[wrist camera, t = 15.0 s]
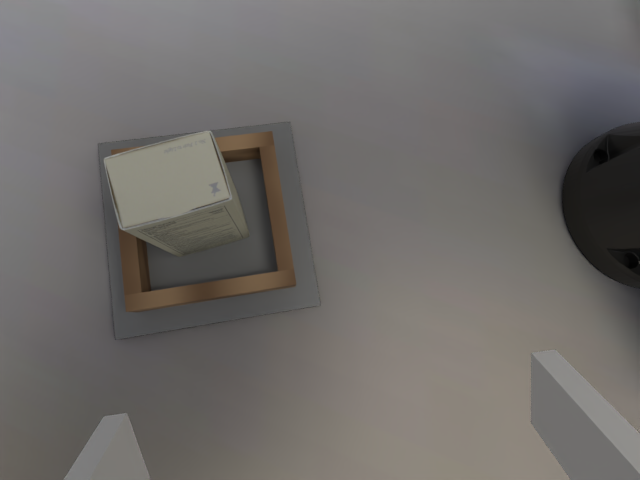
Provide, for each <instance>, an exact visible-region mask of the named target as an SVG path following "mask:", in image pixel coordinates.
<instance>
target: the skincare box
mask: <svg viewBox="0 0 640 480" xmlns="http://www.w3.org/2000/svg"><path fill="white" fill-rule="evenodd" d="M104 165H105V169H106V174H107V179H108V183H109V188H110V192H111V196H112V200H113V205H114V209H115V213H116V216H117V220H118V224H119V228H120V229H121V230H123V231H125V232H127V233H130V234H132V235H134V236H136V237H138V238H140V239H142V240H144V241H146V242H148V243H150V244H152V245H154V246H157V247H159V248H161V249H163V250H165V251H167V252H169V253H171V254H173V255H175V256H178V257H181V256H185V255H188V254H192V253H196V252H200V251H203V250H207V249H210V248H214V247H217V246H221V245H224V244H228V243H231V242H234V241H237V240H241V239H244V238H247V237H249V231H248V227H247V223H246V220H245V216H244V213H243V209H242V206H241V203H240V200H239V197H238V194H237V191H236V188H235V186H234V183H233V181H232V178H231V176H230V173H229V171H228V169H227V166H226V164H225V161H224V159H223V156H222V154H221V152H220V149H219V147H218V144H217V142H216V140H215V138H214V135H213V133H212V132H211V131H204V132H199V133H195V134H190V135H186V136H182V137H178V138H174V139H170V140H166V141H162V142H159V143H155V144H151V145H147V146H144V147H140V148H136V149H133V150H129V151H126V152H122V153H118V154H115V155H112V156H108V157H105V158H104Z"/></svg>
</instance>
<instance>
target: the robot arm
mask: <svg viewBox="0 0 640 480" xmlns="http://www.w3.org/2000/svg"><path fill="white" fill-rule="evenodd" d="M563 208H564V214H565V218H566V222H567V225H568V228H569V230H570V233H571V235H572V237H573V239H574V241H575V242H576V244H577V246H578V247H579V249H580V250H581V251H582V253H583V254H584V255H585V256H586V258H587V259H588V260H589V261H590V262H591V263H592V264H593V265H594V266H595V267H596V268H598V269H599V270H600V271H601V272H603V273H604V274H606V275H607V276H609V277H611V278H612V279H614V280H616V281H618V282H621V283H623V284H626V285H629V286H632V287H637V288H640V122H635V123H630V124H626V125H623V126H620V127H617V128H615V129H612V130H610V131H608V132H607V133H605V134H603V135H601V136H600V137H598V138H596V139H594V140H592V141H591V142H589V143H588V144H587V145H585V146H584V147H583V148H582V149H581V150H580V151H579V152H578V154H577V155H576V156H575V157H574V159H573V161H572V162H571V164H570V166H569V168H568V171H567V173H566V177H565V181H564V186H563ZM531 424H532V425H533V426H534V428H535V429H536V431H537V432H538V434H539V435H540V436H541V438H542V439H543V441H544V442H545V444H546V445H547V446H548V448H549V449H550V451H551V452H552V454H553V455H554V456H555V458H556V459H557V461H558V462H559V464H560V465H561V466H562V468H563V469H564V471H565V472H566V473H567V475H568V476H569V478H570V479H571V480H640V433H639V432H638V431H637V430H636V429H635V428H634V427H633V426H632V425H631V424H630V423H629V422H628V421H627V420H626V419H625V418H624V417H623V416H622V415H621V414H620V413H619V412H618V411H617V410H616V409H615V408H614V407H613V406H612V405H611V404H610V403H609V402H608V401H607V400H606V399H605V398H604V397H603V396H602V395H601V394H600V393H599V392H598V391H597V390H596V389H595V388H594V387H593V386H592V385H591V384H590V383H588V382H587V381H586V380H585V379H584V378H583V377H582V376H581V375H580V374H579V373H578V372H577V371H576V370H575V369H574V368H573V367H572V366H571V365H570V364H569V363H568V362H567V361H566V360H565V359H564V358H563V357H562V356H561V355H560V354H559V353H558V352H557V351H556V350H548V351H541V352H534V353H531ZM64 480H150V476H149V473H148V470H147V468H146V465H145V462H144V459H143V456H142V454H141V451H140V448H139V445H138V442H137V439H136V437H135V434H134V431H133V428H132V425H131V423H130V420H129V417H128V414H127V413H123V414H116V415H109V416H104V417H103V418H102V420H101V421H100V423H99V425H98V426H97V428H96V429H95V431H94V432H93V434H92V436H91V437H90V439H89V440H88V442H87V444H86V445H85V447H84V448H83V450H82V451H81V453H80V455H79V456H78V458H77V459H76V461H75V462H74V464H73V466H72V467H71V469H70V470H69V472H68V473H67V475H66V477H65V478H64Z"/></svg>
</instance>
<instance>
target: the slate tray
mask: <svg viewBox="0 0 640 480" xmlns="http://www.w3.org/2000/svg"><path fill="white" fill-rule="evenodd" d="M268 131H272V133H273V139H274V146H275V152H276V158H277V165H278V171H279V177H280V183H281V190H282V196H283V202H284V209H285V215H286V221H287V228H288V234H289V240H290V247H291V253H292V259H293V266H294V272H295V278H296V286H295V287H291V288H284V289H278V290H272V291H266V292H260V293H253V294H247V295H241V296H235V297H229V298H223V299H216V300H210V301H204V302H198V303H192V304H186V305H179V306H173V307H167V308H161V309H155V310H148V311H142V312H126V307H125V297H124V286H123V275H122V264H121V253H120V243H119V232H118V221H117V216H116V213H115V209H114V205H113V200H112V196H111V192H110V188H109V183H108V179H107V174H106V169H105V165H104V158H105V157H108V156H111V150H114V149H122V148H131V147H140V146H147V145H151V144H155V143H159V142H162V141H166V140H170V139H174V138H178V137H182V136H186V135H190V134H195V133H199V132H195V133H186V134H178V135H169V136H160V137H151V138H143V139H134V140H125V141H116V142H108V143H99V144H98V150H99V162H100V173H101V184H102V196H103V207H104V219H105V230H106V241H107V253H108V264H109V276H110V287H111V298H112V310H113V321H114V333H115V340H118V339H124V338H130V337H136V336H142V335H148V334H154V333H159V332H165V331H171V330H177V329H183V328H189V327H195V326H201V325H207V324H213V323H219V322H225V321H231V320H237V319H243V318H249V317H254V316H260V315H266V314H272V313H278V312H284V311H290V310H296V309H302V308H308V307H314V306H320V305H321V304H320V298H319V292H318V286H317V280H316V274H315V268H314V262H313V256H312V250H311V244H310V238H309V232H308V226H307V220H306V214H305V208H304V202H303V196H302V190H301V184H300V178H299V172H298V166H297V160H296V154H295V148H294V142H293V136H292V130H291V123H290V122H283V123H274V124H265V125H256V126H248V127H239V128H230V129H221V130H213V131H211V132H212V133H213V135H214V138H217V137H225V136H234V135H243V134H251V133H260V132H268ZM225 164H226V166H227V169H228V171H229V173H230V176H231V178H232V181H233V183H234V186H235V188H236V191H237V194H238V197H239V200H240V203H241V206H242V209H243V213H244V216H245V220H246V223H247V227H248V231H249V237H247V238H244V239H241V240H237V241H234V242H231V243H228V244H224V245H221V246H217V247H214V248H210V249H207V250H203V251H200V252H196V253H192V254H188V255H185V256H181V257H178V256H175V255H173V254H171V253H169V252H167V251H165V250H163V249H161V248H159V247H157V246H154V245H152V244H150V243H148V242H146V245H147V255H148V265H149V275H150V284H151V291H155V290H162V289H168V288H174V287H181V286H187V285H194V284H200V283H206V282H213V281H219V280H225V279H232V278H238V277H245V276H251V275H257V274H264V273H270V272H276V271H278V269H277V263H276V256H275V249H274V243H273V236H272V230H271V223H270V217H269V210H268V203H267V197H266V190H265V184H264V177H263V170H262V164H261V158H260V159H252V160H244V161H236V162H228V163H225Z"/></svg>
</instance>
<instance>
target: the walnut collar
mask: <svg viewBox="0 0 640 480" xmlns="http://www.w3.org/2000/svg"><path fill="white" fill-rule="evenodd" d="M215 140H216V142H217V144H218V147H219V149H220V152H221V154H222V156H223V159H224V161H225V163H228V162H236V161H244V160H252V159H260V158H261V164H262V170H263V177H264V184H265V190H266V197H267V203H268V210H269V217H270V223H271V230H272V236H273V243H274V249H275V256H276V263H277V269H278V271H276V272H270V273H264V274H257V275H251V276H245V277H238V278H232V279H225V280H219V281H213V282H206V283H200V284H194V285H187V286H181V287H174V288H168V289H162V290H155V291H151V284H150V275H149V265H148V255H147V245H146V241H144V240H142V239H140V238H138V237H136V236H134V235H132V234H130V233H127V232H125V231H123V230H121V229H120V228H119V224H118V232H119V243H120V253H121V264H122V275H123V286H124V297H125V307H126V312H142V311H148V310H155V309H161V308H167V307H173V306H179V305H186V304H192V303H198V302H204V301H210V300H216V299H223V298H229V297H235V296H241V295H247V294H253V293H260V292H266V291H272V290H278V289H284V288H291V287H295V286H296V278H295V272H294V266H293V259H292V253H291V247H290V240H289V234H288V228H287V221H286V215H285V209H284V202H283V196H282V190H281V183H280V177H279V171H278V165H277V158H276V152H275V146H274V139H273V133H272V131H268V132H260V133H251V134H243V135H234V136H225V137H217V138H215ZM140 147H144V146H140ZM140 147H131V148H122V149H114V150H111V156H112V155H115V154H118V153H122V152H126V151H129V150H133V149H136V148H140ZM117 221H118V220H117Z"/></svg>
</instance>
